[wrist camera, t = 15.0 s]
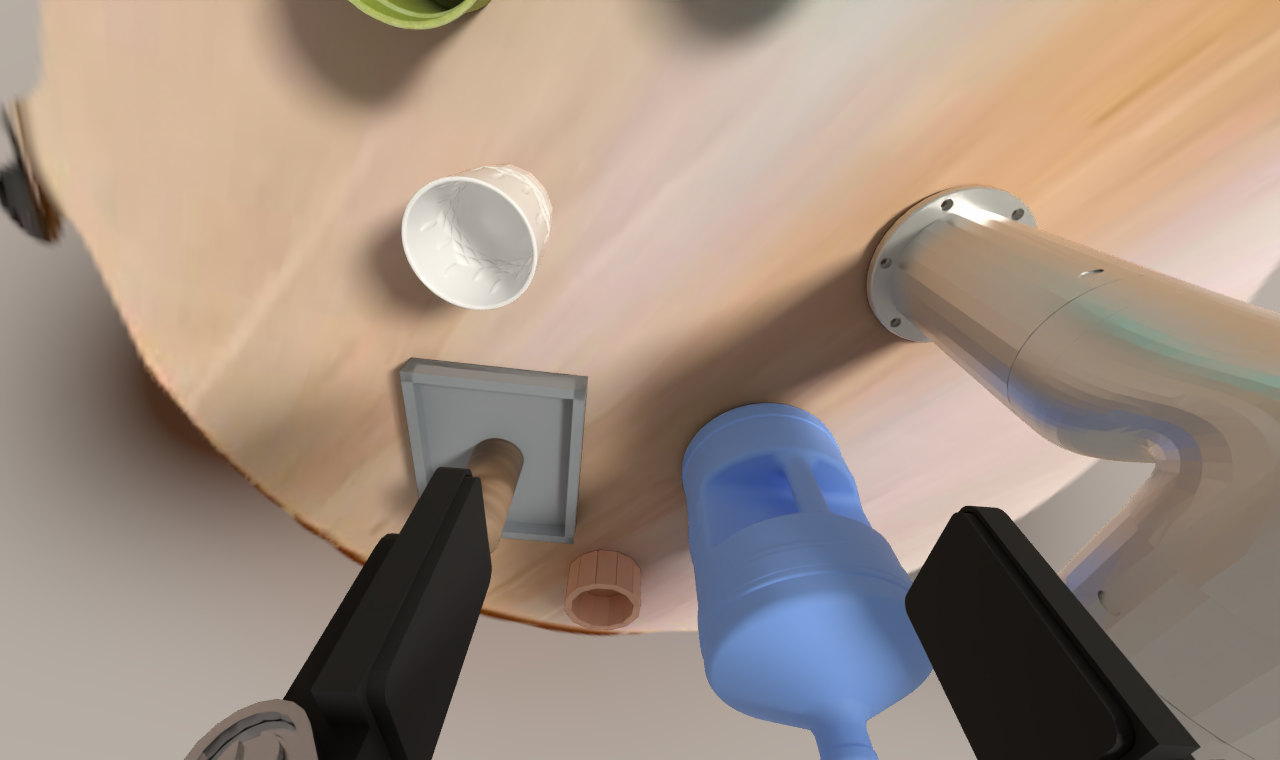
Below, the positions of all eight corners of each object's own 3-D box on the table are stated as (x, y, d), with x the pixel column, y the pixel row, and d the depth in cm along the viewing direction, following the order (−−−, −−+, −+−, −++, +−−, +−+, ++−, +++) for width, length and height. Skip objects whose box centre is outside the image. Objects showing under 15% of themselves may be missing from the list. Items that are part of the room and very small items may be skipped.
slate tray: (588, 376, 45) (585, 391, 42) (575, 526, 55) (573, 544, 53) (411, 357, 44) (399, 371, 41) (432, 513, 54) (424, 531, 52)
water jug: (807, 520, 54) (937, 861, 30) (669, 507, 53) (692, 849, 30) (856, 407, 46) (1086, 749, 22) (695, 389, 45) (756, 728, 21)
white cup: (574, 181, 36) (553, 210, 27) (544, 275, 40) (517, 328, 31) (469, 136, 34) (412, 152, 26) (448, 239, 38) (392, 283, 30)
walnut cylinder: (523, 440, 47) (497, 518, 39) (523, 478, 50) (499, 559, 41) (472, 435, 47) (434, 513, 38) (474, 474, 50) (440, 554, 41)
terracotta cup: (644, 554, 57) (644, 587, 54) (635, 598, 62) (635, 632, 58) (571, 547, 57) (566, 581, 53) (568, 593, 61) (563, 626, 57)
